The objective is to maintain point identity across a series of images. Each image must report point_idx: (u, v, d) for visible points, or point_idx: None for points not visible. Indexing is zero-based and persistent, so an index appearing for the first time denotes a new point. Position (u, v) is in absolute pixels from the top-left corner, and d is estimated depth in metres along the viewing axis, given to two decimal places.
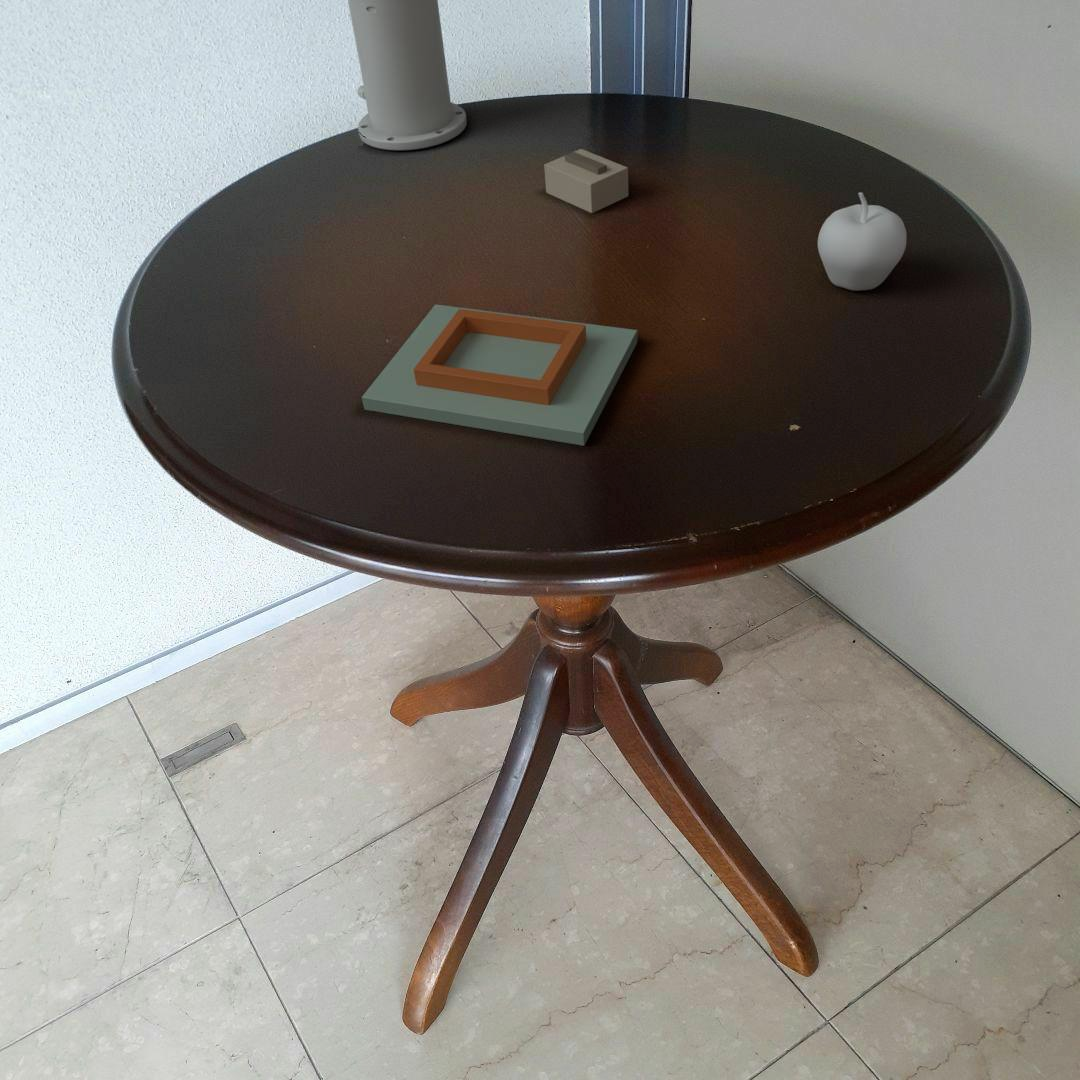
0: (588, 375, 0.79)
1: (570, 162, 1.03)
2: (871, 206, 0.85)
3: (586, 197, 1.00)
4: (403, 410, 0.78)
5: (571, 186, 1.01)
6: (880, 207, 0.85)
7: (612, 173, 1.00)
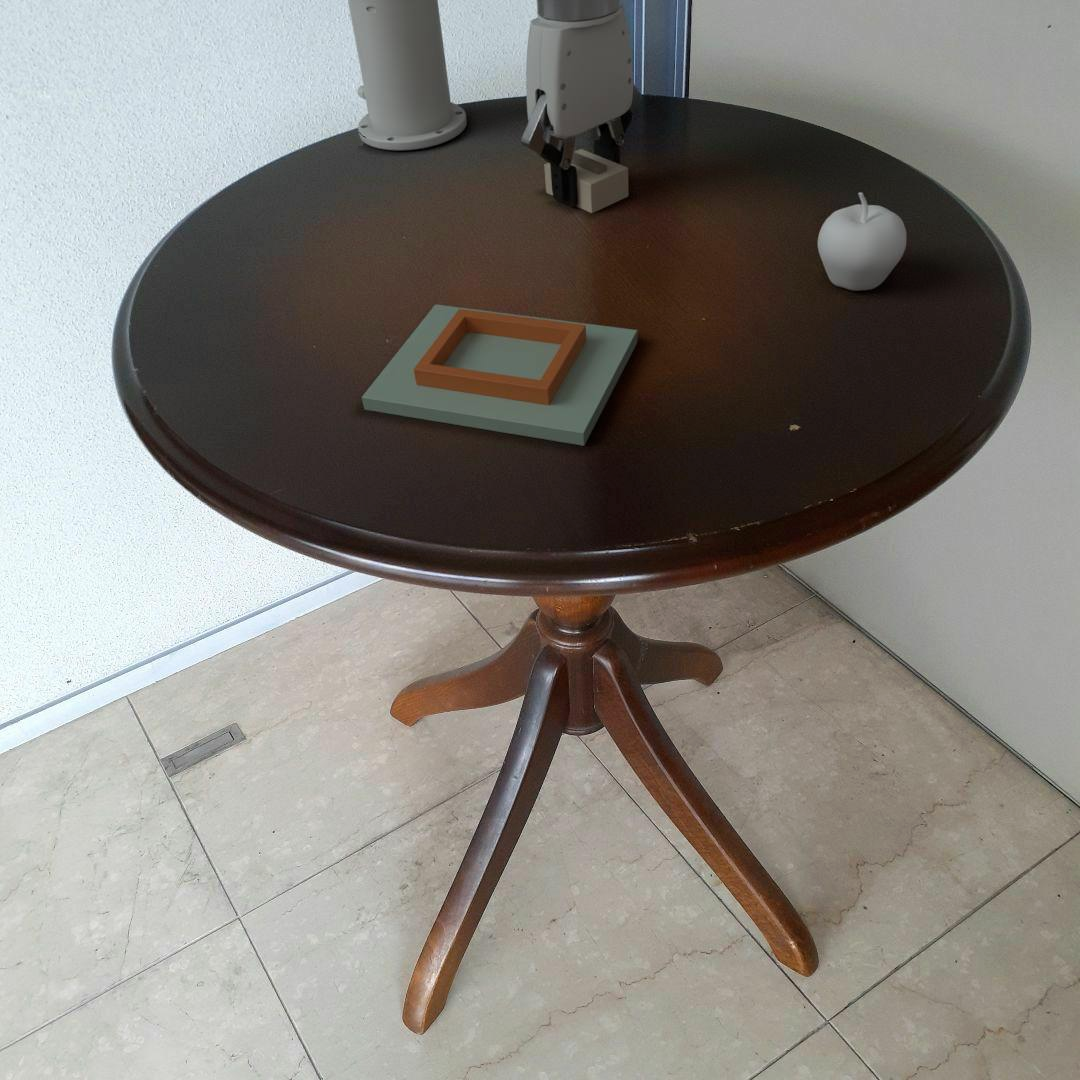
0: (588, 375, 0.79)
1: None
2: (871, 206, 0.85)
3: (586, 197, 1.00)
4: (403, 410, 0.78)
5: None
6: (880, 207, 0.85)
7: (612, 173, 1.00)
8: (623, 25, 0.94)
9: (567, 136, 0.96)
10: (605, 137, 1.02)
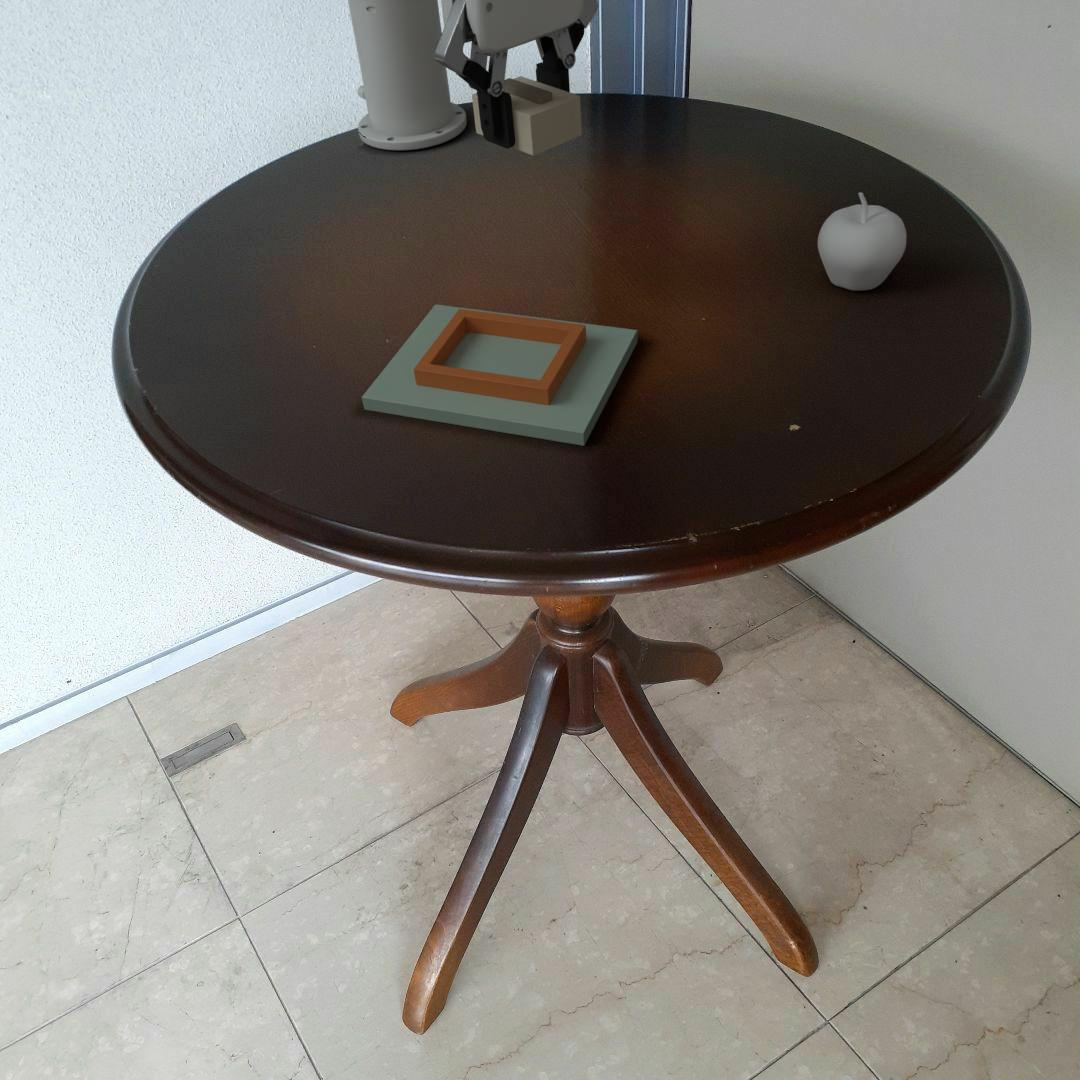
0: (588, 375, 0.79)
1: None
2: (871, 206, 0.85)
3: (525, 134, 0.76)
4: (403, 410, 0.78)
5: None
6: (880, 207, 0.85)
7: (559, 102, 0.76)
8: None
9: (496, 49, 0.72)
10: (550, 58, 0.78)
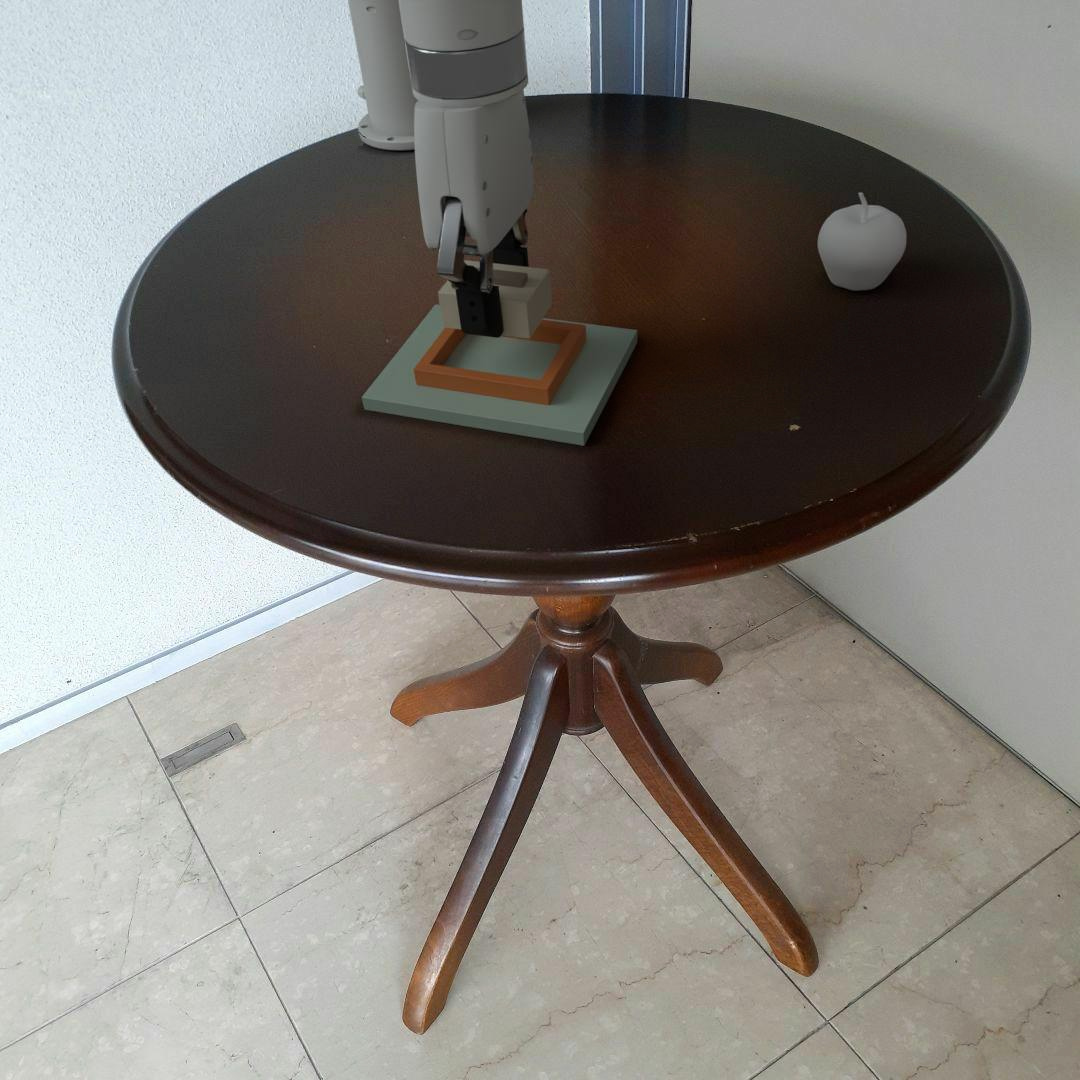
0: (588, 375, 0.79)
1: None
2: (871, 206, 0.85)
3: (518, 320, 0.74)
4: (403, 410, 0.78)
5: None
6: (880, 207, 0.85)
7: (538, 281, 0.75)
8: None
9: (491, 249, 0.70)
10: (503, 238, 0.76)
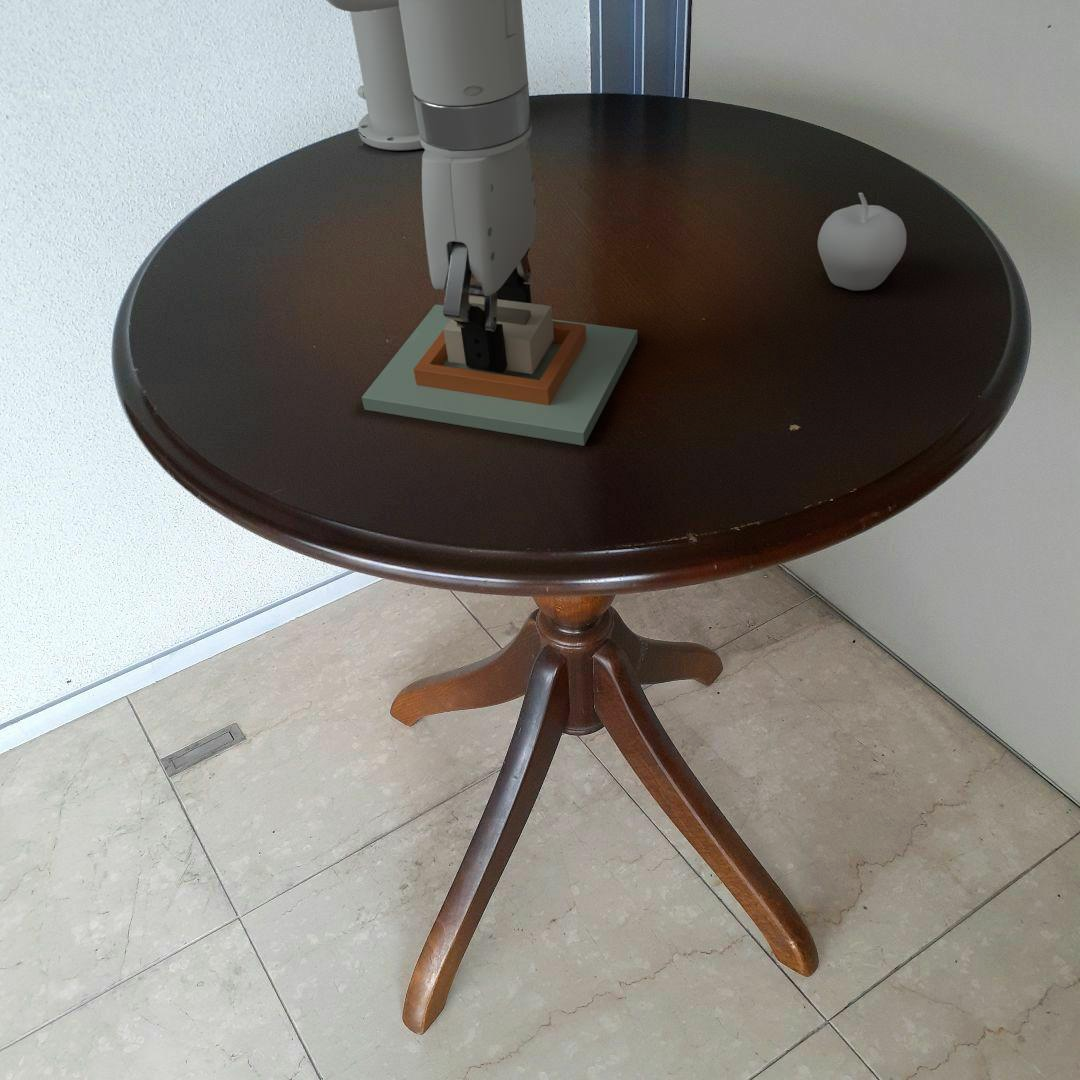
0: (588, 375, 0.79)
1: None
2: (871, 206, 0.85)
3: (521, 356, 0.77)
4: (403, 410, 0.78)
5: None
6: (880, 207, 0.85)
7: (540, 318, 0.78)
8: None
9: (496, 291, 0.72)
10: None
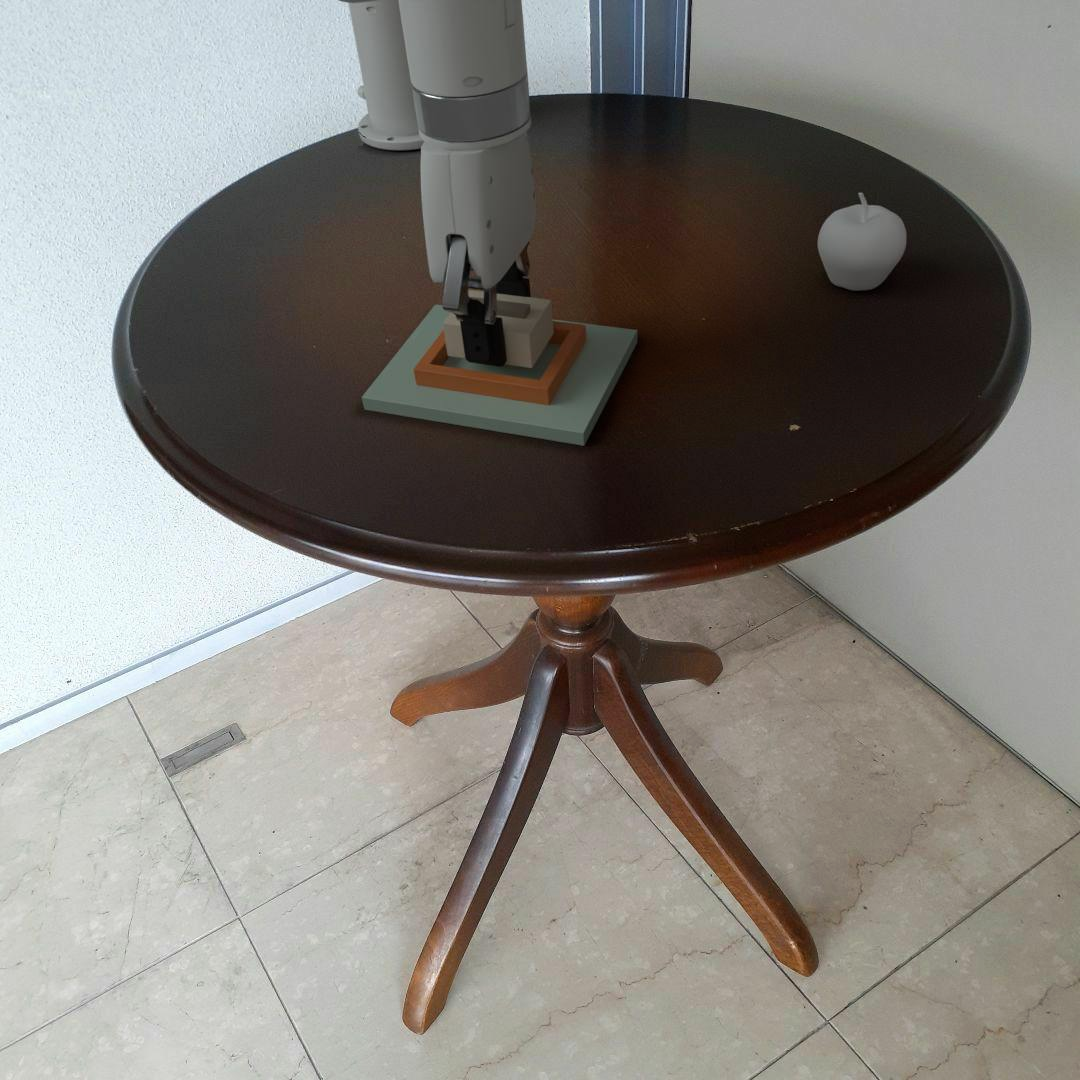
0: (588, 375, 0.79)
1: None
2: (871, 206, 0.85)
3: (521, 350, 0.76)
4: (403, 410, 0.78)
5: None
6: (880, 207, 0.85)
7: (540, 312, 0.77)
8: None
9: (495, 284, 0.72)
10: None
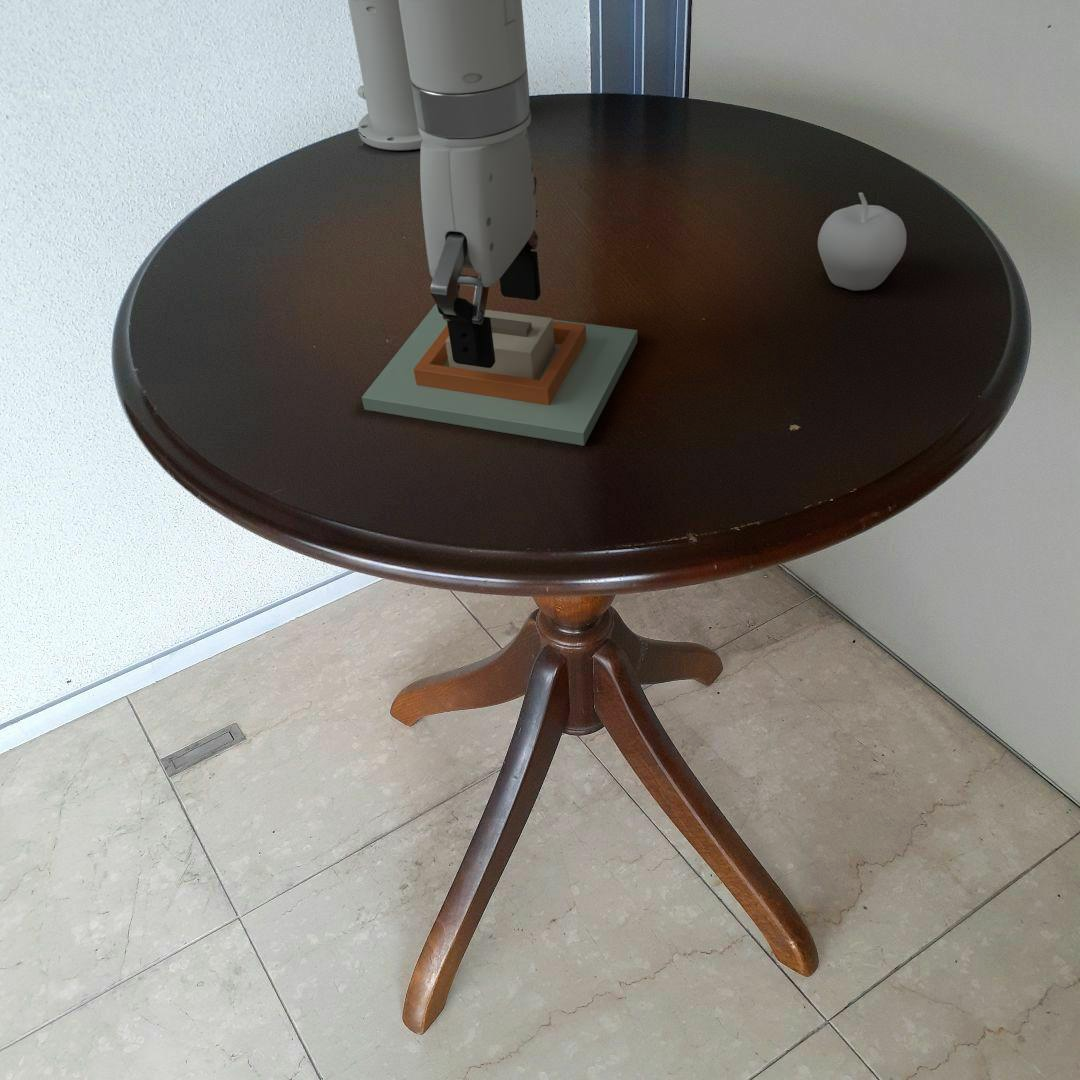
0: (588, 375, 0.79)
1: None
2: (871, 206, 0.85)
3: (522, 368, 0.77)
4: (403, 410, 0.78)
5: (496, 359, 0.78)
6: (880, 207, 0.85)
7: (541, 330, 0.78)
8: None
9: None
10: None
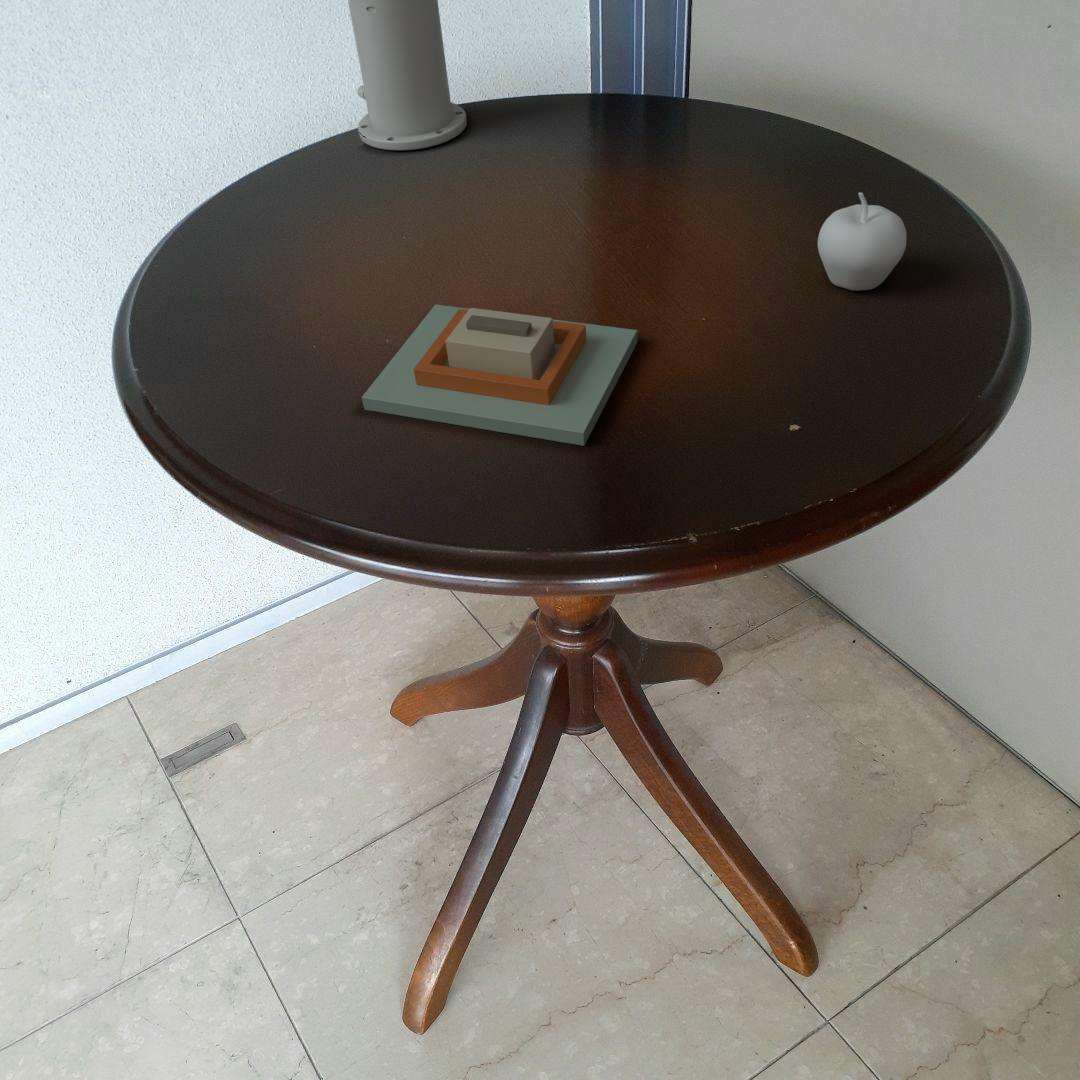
0: (588, 375, 0.79)
1: (476, 330, 0.79)
2: (871, 206, 0.85)
3: (522, 368, 0.77)
4: (403, 410, 0.78)
5: (496, 359, 0.78)
6: (880, 207, 0.85)
7: (541, 330, 0.78)
8: None
9: None
10: None
